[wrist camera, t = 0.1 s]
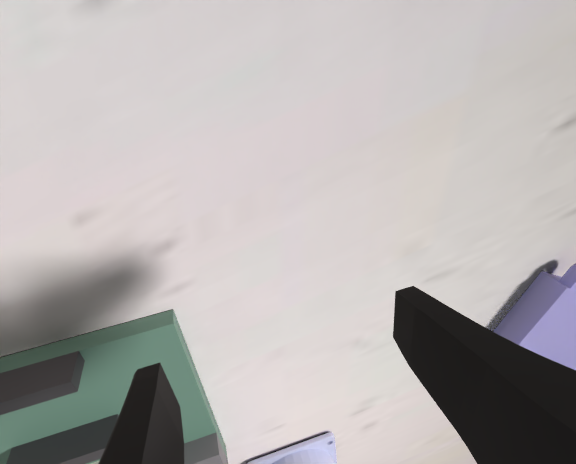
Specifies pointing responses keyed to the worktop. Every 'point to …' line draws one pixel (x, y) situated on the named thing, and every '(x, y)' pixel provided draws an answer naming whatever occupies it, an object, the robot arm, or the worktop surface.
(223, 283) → the worktop surface
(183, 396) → the board
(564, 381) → the robot arm
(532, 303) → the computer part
